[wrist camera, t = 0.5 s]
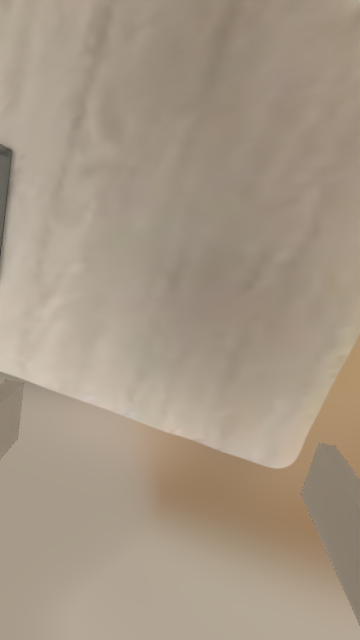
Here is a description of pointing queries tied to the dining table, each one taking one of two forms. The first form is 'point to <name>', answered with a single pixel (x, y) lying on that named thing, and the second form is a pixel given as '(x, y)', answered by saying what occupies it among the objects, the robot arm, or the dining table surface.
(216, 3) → the dining table surface
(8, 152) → the tray
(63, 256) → the dining table surface
